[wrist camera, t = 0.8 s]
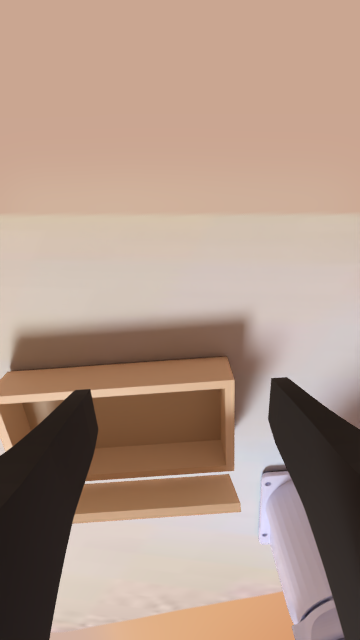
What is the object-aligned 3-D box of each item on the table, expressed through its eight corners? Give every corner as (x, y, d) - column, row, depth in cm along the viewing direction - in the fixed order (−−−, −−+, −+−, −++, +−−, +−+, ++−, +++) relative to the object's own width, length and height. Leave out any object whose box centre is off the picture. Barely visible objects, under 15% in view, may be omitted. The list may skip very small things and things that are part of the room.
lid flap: (229, 474, 23) (229, 482, 23) (24, 488, 23) (24, 497, 23) (240, 502, 18) (241, 513, 18) (-15, 520, 18) (-15, 531, 18)
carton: (227, 440, 26) (234, 470, 23) (35, 453, 26) (18, 485, 23) (226, 356, 22) (234, 379, 20) (7, 371, 22) (-16, 397, 20)
